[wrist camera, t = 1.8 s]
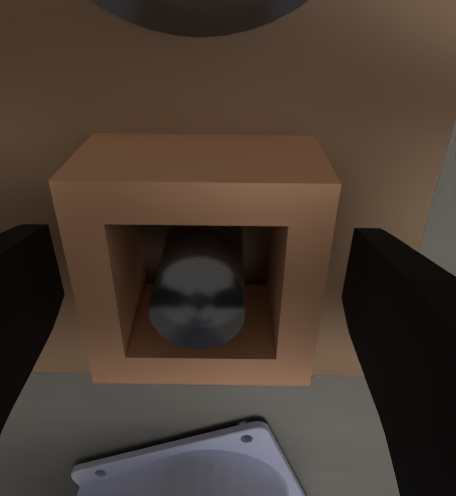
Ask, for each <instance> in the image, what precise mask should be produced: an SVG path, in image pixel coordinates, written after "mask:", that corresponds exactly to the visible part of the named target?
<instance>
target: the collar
mask: <svg viewBox="0 0 456 496" xmlns="http://www.w3.org/2000/svg"><path fill="white" fill-rule="evenodd" d="M48 181H49V186H50V190H51V195H52V199H53V204H54V209H55V213H56V218H57V222H58V227H59V231H60V236H61V240H62V245H63V249H64V254H65V258H66V263H67V267H68V272H69V276H70V281H71V285H72V290H73V294H74V299H75V303H76V308H77V312H78V317H79V322H80V326H81V331H82V335H83V340H84V344H85V349H86V353H87V358H88V362H89V367H90V371H91V376H92V380H93V383H108V384H191V385H273V386H310V382H311V376H312V370H313V363H314V357H315V350H316V344H317V337H318V331H319V325H320V318H321V312H322V305H323V299H324V293H325V286H326V280H327V273H328V267H329V261H330V254H331V248H332V241H333V235H334V228H335V222H336V216H337V209H338V203H339V196H340V190H341V182H340V180H339V179H338V177H337V175H336V173H335V171H334V170H333V168H332V166H331V164H330V162H329V160H328V159H327V157H326V155H325V153H324V151H323V150H322V148H321V146H320V144H319V142H318V141H317V139H316V137H315V136H314V135H224V134H134V133H93V134H92V135H91V136H90V137H89V138H88V139H87V140H86V141H85V142H84V143H83V144H82V145H81V146H80V147H79V148H78V150H77V151H76V152H75V153H74V154H73V155H72V156H71V157H70V158H69V159H68V160H67V161H66V162H65V163H64V164H63V166H62V167H61V168H60V169H59V170H58V171H57V172H56V173H55V174H54V175H53V176H52V177H51V178H50V179H49V180H48ZM140 225H208V226H271V240H270V254H269V268H268V283H267V285H244V291H245V320H244V324H243V326H242V328H241V329H240V331H239V332H238V333H237V334H236V335H235V336H234V337H233V338H232V339H231V340H229V341H228V342H226V343H224V344H222V345H219V346H216V347H212V348H207V349H191V348H185V347H182V346H179V345H176V344H174V343H172V342H170V341H168V340H166V339H165V338H164V337H162V336H161V335H160V334H159V333H158V332H157V331H156V329H155V328H154V326H153V325H152V323H151V320H150V317H149V302H150V299H151V295H152V291H153V287H154V284H151V283H146V275H145V266H144V257H143V248H142V239H141V230H140Z"/></svg>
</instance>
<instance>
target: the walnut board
mask: <svg viewBox="0 0 456 496" xmlns="http://www.w3.org/2000/svg"><path fill="white" fill-rule="evenodd" d="M455 119H456V0H309V1H308V2H306V3H305V4H303V5H302V6H300V7H299V8H298V9H296V10H294V11H293V12H291V13H289V14H287V15H285V16H283V17H281V18H279V19H277V20H275V21H274V22H271V23H269V24H266V25H263V26H260V27H258V28H255V29H252V30H249V31H245V32H240V33H236V34H231V35H226V36H215V37H188V36H176V35H171V34H166V33H162V32H158V31H153V30H149V29H147V28H144V27H141V26H139V25H136V24H134V23H131V22H128V21H126V20H124V19H122V18H120V17H118V16H116V15H114V14H113V13H111V12H109V11H107V10H105V9H103V8H101V7H100V6H99V5H97V4H96V3H94V2H93V1H91V0H0V233H2V232H4V231H6V230H9V229H11V228H13V227H16V226H19V225H21V224H48V225H49V230H50V234H51V238H52V242H53V246H54V251H55V255H56V259H57V263H58V267H59V272H60V276H61V280H62V284H63V288H64V293H65V295H64V298H63V301H62V304H61V307H60V311H59V314H58V316H57V319H56V322H55V325H54V328H53V330H52V332H51V334H50V336H49V338H48V340H47V342H46V344H45V346H44V348H43V350H42V352H41V354H40V356H39V358H38V360H37V362H36V364H35V366H34V368H33V370H34V373H91V371H90V367H89V362H88V358H87V353H86V349H85V344H84V340H83V335H82V331H81V326H80V322H79V317H78V312H77V308H76V303H75V299H74V294H73V290H72V285H71V281H70V276H69V272H68V267H67V263H66V258H65V254H64V249H63V245H62V240H61V236H60V231H59V227H58V222H57V218H56V213H55V209H54V204H53V199H52V195H51V190H50V186H49V181H48V180H49V179H50V178H51V177H52V176H53V175H54V174H55V173H56V172H57V171H58V170H59V169H60V168H61V167H62V166H63V164H64V163H65V162H66V161H67V160H68V159H69V158H70V157H71V156H72V155H73V154H74V153H75V152H76V151H77V150H78V148H79V147H80V146H81V145H82V144H83V143H84V142H85V141H86V140H87V139H88V138H89V137H90V136H91V135H92V134H93V133H134V134H224V135H314V136H315V137H316V139H317V141H318V142H319V144H320V146H321V148H322V150H323V151H324V153H325V155H326V157H327V159H328V160H329V162H330V164H331V166H332V168H333V170H334V171H335V173H336V175H337V177H338V179H339V180H340V182H341V190H340V196H339V203H338V209H337V216H336V222H335V228H334V235H333V241H332V248H331V254H330V261H329V267H328V273H327V280H326V286H325V293H324V299H323V305H322V312H321V318H320V325H319V331H318V337H317V344H316V350H315V357H314V363H313V370H312V376H346V377H365V376H364V373H363V371H362V368H361V365H360V363H359V360H358V357H357V354H356V352H355V349H354V346H353V343H352V340H351V338H350V335H349V331H348V327H347V323H346V318H345V313H344V308H343V303H342V298H341V296H342V291H343V285H344V280H345V274H346V269H347V264H348V258H349V253H350V247H351V242H352V236H353V231H354V228H381V229H383V230H385V231H387V232H388V233H390V234H392V235H393V236H395V237H396V238H398V239H399V240H401V241H402V242H404V243H405V244H407V245H408V246H410V247H411V248H413V249H414V250H416V251H417V252H418V251H419V247H420V244H421V240H422V237H423V233H424V230H425V226H426V222H427V219H428V215H429V212H430V208H431V205H432V201H433V197H434V194H435V190H436V187H437V183H438V179H439V176H440V172H441V169H442V165H443V162H444V158H445V154H446V151H447V147H448V144H449V140H450V137H451V133H452V129H453V126H454V122H455ZM168 229H169V225H140V230H141V239H142V248H143V257H144V266H145V275H146V283H151V284H154V283H155V279H156V275H157V272H158V268H159V264H160V260H161V256H162V252H163V248H164V245H165V241H166V237H167V233H168ZM270 240H271V226H242V243H243V267H244V285H267V283H268V268H269V254H270Z"/></svg>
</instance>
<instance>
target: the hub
mask: <svg viewBox="0 0 456 496" xmlns="http://www.w3.org/2000/svg"><path fill="white" fill-rule="evenodd" d="M91 1H93V2H94V3H96V4H97V5H99V6H100V7H101V8H103V9H105V10H107V11H109V12H111V13H113V14H114V15H116V16H118V17H120V18H122V19H124V20H126V21H128V22H131V23H134V24H136V25H139V26H141V27H144V28H147V29H149V30H153V31H158V32H162V33H166V34H171V35H176V36H188V37H215V36H226V35H231V34H236V33H240V32H245V31H249V30H252V29H255V28H258V27H260V26H263V25H266V24H269V23H271V22H274V21H275V20H277V19H279V18H281V17H283V16H285V15H287V14H289V13H291V12H293V11H294V10H296V9H298V8H299V7H300V6H302V5H303V4H305V3H306V2H308V1H309V0H91Z"/></svg>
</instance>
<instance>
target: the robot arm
mask: <svg viewBox="0 0 456 496" xmlns="http://www.w3.org/2000/svg"><path fill="white" fill-rule="evenodd" d="M64 295H65V293H64V288H63V284H62V280H61V276H60V272H59V267H58V263H57V259H56V255H55V251H54V246H53V242H52V238H51V234H50V230H49V225H48V224H21V225H19V226H16V227H13V228H11V229H9V230H6V231H4V232H2V233H0V434H1V432H2V429H3V427H4V425H5V423H6V421H7V418H8V416H9V414H10V412H11V410H12V408H13V406H14V404H15V402H16V400H17V398H18V396H19V394H20V393H21V391H22V389H23V387H24V385H25V383H26V381H27V379H28V377H29V375H30V373H31V371H32V369H33V368H34V366H35V364H36V362H37V360H38V358H39V356H40V354H41V352H42V350H43V348H44V346H45V344H46V342H47V340H48V338H49V336H50V334H51V332H52V330H53V328H54V325H55V322H56V319H57V316H58V314H59V311H60V307H61V304H62V301H63V298H64ZM341 298H342V303H343V308H344V313H345V318H346V323H347V327H348V331H349V335H350V338H351V340H352V343H353V346H354V349H355V352H356V354H357V357H358V360H359V363H360V365H361V368H362V371H363V373H364V376H365V379H366V381H367V384H368V387H369V390H370V392H371V395H372V398H373V400H374V403H375V406H376V408H377V411H378V414H379V417H380V420H381V423H382V426H383V429H384V433H385V436H386V440H387V444H388V448H389V452H390V456H391V460H392V464H393V468H394V472H395V476H396V480H397V484H398V488H399V493H400V496H456V277H455V276H454V275H452V274H451V273H449V272H447V271H446V270H444V269H443V268H441V267H440V266H438V265H437V264H435V263H434V262H432V261H431V260H429V259H428V258H426V257H425V256H423V255H422V254H420V253H419V252H417V251H416V250H414V249H413V248H411V247H410V246H408V245H407V244H405V243H404V242H402V241H401V240H399V239H398V238H396V237H395V236H393V235H392V234H390V233H388V232H387V231H385V230H383V229H381V228H354V231H353V236H352V242H351V247H350V253H349V258H348V264H347V269H346V274H345V280H344V285H343V291H342V296H341ZM71 478H72V479H73V481H74V482H75V483H76V484H77V485H78V486H79V490H78V493H77V496H306V495H305V493H304V491H303V489H302V488H301V486H300V484H299V482H298V480H297V478H296V476H295V475H294V473H293V471H292V469H291V467H290V465H289V463H288V462H287V460H286V458H285V456H284V454H283V452H282V450H281V448H280V447H279V445H278V443H277V441H276V439H275V437H274V435H273V434H272V432H271V430H270V428H269V426H268V425H267V424H266V423H264V422H262V421H253V422H249V423H245V424H241V425H237V426H233V427H229V428H225V429H221V430H217V431H212V432H208V433H204V434H200V435H196V436H192V437H188V438H184V439H180V440H176V441H172V442H167V443H163V444H159V445H155V446H151V447H147V448H143V449H139V450H135V451H131V452H127V453H123V454H118V455H114V456H110V457H106V458H102V459H98V460H94V461H90V462H86V463H82V464H78V465H76V466H74V467H73V470H72V473H71Z"/></svg>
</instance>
